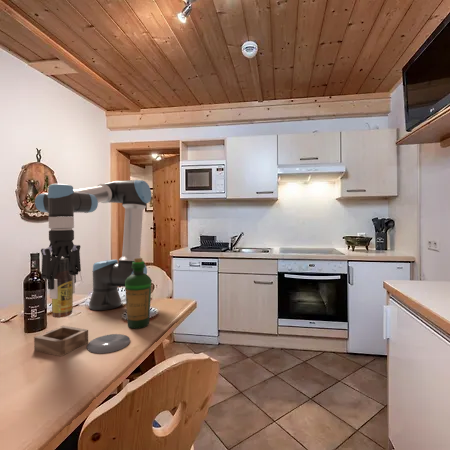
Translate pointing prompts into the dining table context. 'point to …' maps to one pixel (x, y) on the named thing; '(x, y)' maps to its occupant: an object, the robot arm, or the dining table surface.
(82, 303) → the dining table surface
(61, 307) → the sauce bottle
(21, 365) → the dining table surface
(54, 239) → the robot arm
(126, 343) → the slate trivet
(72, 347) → the open wooden box
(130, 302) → the bottle
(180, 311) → the dining table surface
